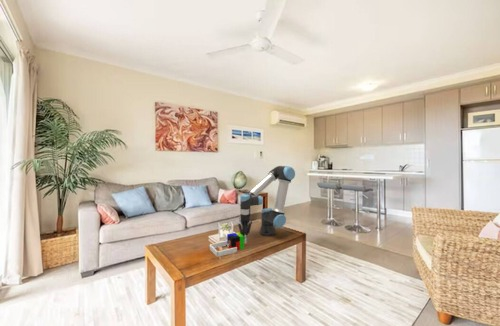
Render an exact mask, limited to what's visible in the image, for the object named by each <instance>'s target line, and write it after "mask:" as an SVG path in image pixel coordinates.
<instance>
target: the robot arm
mask: <svg viewBox="0 0 500 326" xmlns="http://www.w3.org/2000/svg"><path fill="white" fill-rule="evenodd" d="M294 169H295V168H293V167H292V166H288V165H287V166H286V165H278V166H275V167H274V168H272V169H271V170H270V171H269V172H268V173H267V175H266V176H265V177H264V178H263V179H261V180H260V181H259V182H258V183H257V184H256V185H254V187H252V188H251V189H250V190H249V191H248V192H245V193H242V194H241V195H240V220H239V222H237V226H238V229H239V233H240V234H242V235H243V236H244V244H247V239H248V235H249V234H250V232H251V228H252V224H253V221H252V220H250V218H251V217H250V214H251V212H250V209H251V208H250V207H252V206H254V207H255V206H261V205H262V204H264V203H263V202H264V200H263V198H264V197H262V195H259V194H260V193H261V192H263V191H264V190H265V189H266V188H267V187H268V186H269V185H271V183H272V182H275V181H276V180H278V187H277V191H276V197H275V202H274V206H273V208H272V207H270V208H267V207H266V208H263V209H261V212H260V215H261V216H260V218H261V219H260V220H261V225H260V228H259V235H261V236H264V237H272V236H275V235H276V232H277V231H276V228H282V227H284V225H285V224H286V222H287V217H286V216H285V213H286V212H285V211H284V209H285V205H286V200H287V194H288V189H289V185H290V183H292V180H294V179H295V176H296V171H295V170H294ZM275 227H276V228H275Z"/></svg>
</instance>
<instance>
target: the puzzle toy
mask: <svg viewBox="0 0 500 326" xmlns="http://www.w3.org/2000/svg"><path fill="white" fill-rule="evenodd" d="M226 241H227V246H226V247H227V249H230V248H235V247H237V251H240V250H244V249H245V243H244V236H243V235H242V234H240V231H239V232H232V233H227V237H226Z"/></svg>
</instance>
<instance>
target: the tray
mask: <svg viewBox="0 0 500 326" xmlns="http://www.w3.org/2000/svg"><path fill="white" fill-rule="evenodd" d="M226 245H227V240H223V241H219V242H215V243H210V244H209V245H208V249H209V251H211V252H212V253H213V254H214V256H215V257H216V258H219V257H223V256H227V255H231V254H235V253H237V252H238V250H237V247H235V248H230V249H229V248H227V249H222V250H217V249H218V248H221V247H227V246H226Z"/></svg>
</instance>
